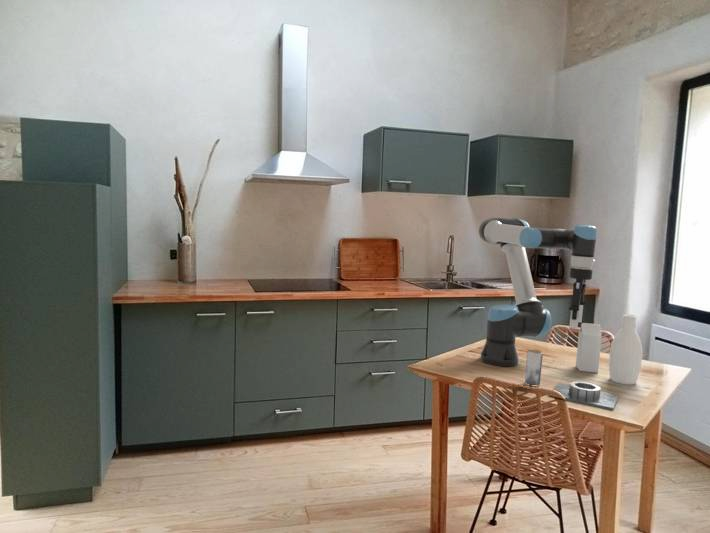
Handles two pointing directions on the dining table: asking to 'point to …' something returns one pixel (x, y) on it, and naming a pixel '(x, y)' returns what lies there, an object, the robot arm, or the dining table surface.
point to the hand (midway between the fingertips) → (575, 325)
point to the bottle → (626, 353)
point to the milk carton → (589, 347)
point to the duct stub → (533, 367)
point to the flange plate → (600, 402)
